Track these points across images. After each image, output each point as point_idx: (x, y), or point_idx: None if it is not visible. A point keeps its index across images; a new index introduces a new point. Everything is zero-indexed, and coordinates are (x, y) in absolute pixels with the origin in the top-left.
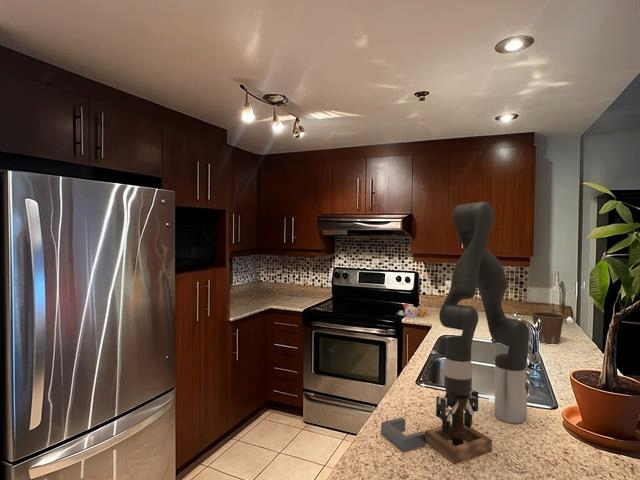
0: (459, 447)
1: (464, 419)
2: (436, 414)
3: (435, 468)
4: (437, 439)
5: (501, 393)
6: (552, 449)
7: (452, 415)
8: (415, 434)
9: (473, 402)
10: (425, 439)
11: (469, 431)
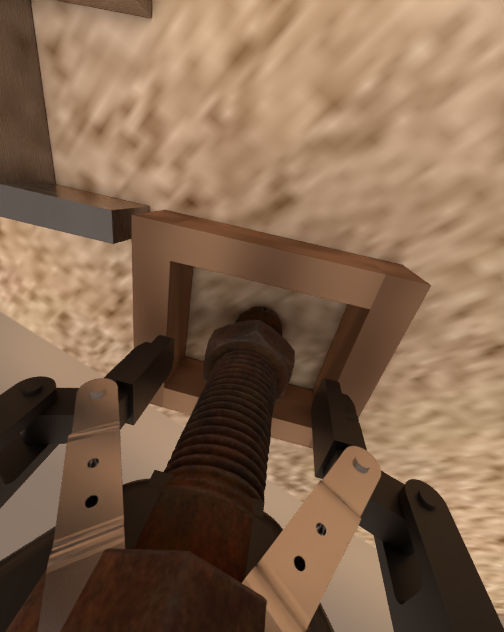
0: (171, 400)
1: (327, 401)
2: (7, 395)
3: (89, 342)
4: (134, 314)
5: None
6: (500, 519)
7: (188, 421)
8: (55, 210)
9: (401, 613)
10: (130, 237)
11: (340, 370)
